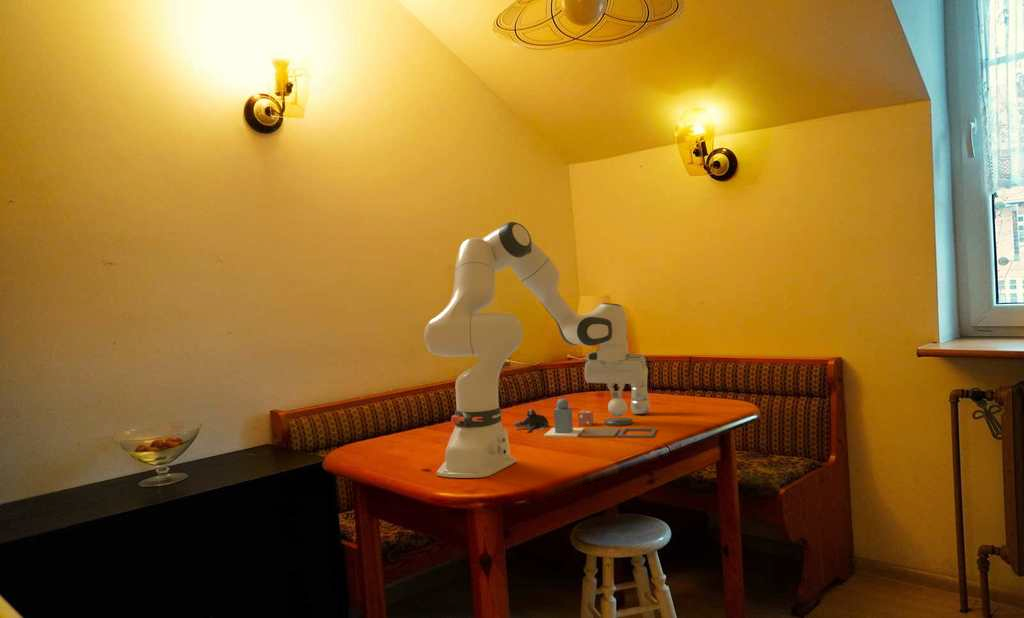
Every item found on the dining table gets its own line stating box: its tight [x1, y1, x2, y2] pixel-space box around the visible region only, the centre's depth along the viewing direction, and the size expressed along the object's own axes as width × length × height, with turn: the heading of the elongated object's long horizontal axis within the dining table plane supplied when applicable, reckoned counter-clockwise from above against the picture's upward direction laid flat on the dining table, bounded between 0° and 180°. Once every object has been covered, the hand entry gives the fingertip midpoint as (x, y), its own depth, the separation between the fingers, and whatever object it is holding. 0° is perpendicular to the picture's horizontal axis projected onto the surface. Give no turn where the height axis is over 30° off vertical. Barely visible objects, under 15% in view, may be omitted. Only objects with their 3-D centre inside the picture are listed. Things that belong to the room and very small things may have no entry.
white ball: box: [607, 397, 628, 417], centre depth 226 cm, size 6×6×6 cm
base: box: [603, 416, 634, 427], centre depth 226 cm, size 9×9×1 cm
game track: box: [543, 427, 657, 439], centre depth 213 cm, size 10×32×1 cm, turn 72°
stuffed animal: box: [513, 408, 549, 434], centre depth 228 cm, size 12×10×12 cm
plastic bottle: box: [630, 353, 651, 416], centre depth 239 cm, size 6×7×20 cm
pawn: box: [553, 397, 574, 433], centre depth 216 cm, size 4×4×10 cm
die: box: [577, 410, 595, 427], centre depth 227 cm, size 4×4×4 cm
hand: (616, 397), depth 226 cm, fingers closed, pressing on white ball
